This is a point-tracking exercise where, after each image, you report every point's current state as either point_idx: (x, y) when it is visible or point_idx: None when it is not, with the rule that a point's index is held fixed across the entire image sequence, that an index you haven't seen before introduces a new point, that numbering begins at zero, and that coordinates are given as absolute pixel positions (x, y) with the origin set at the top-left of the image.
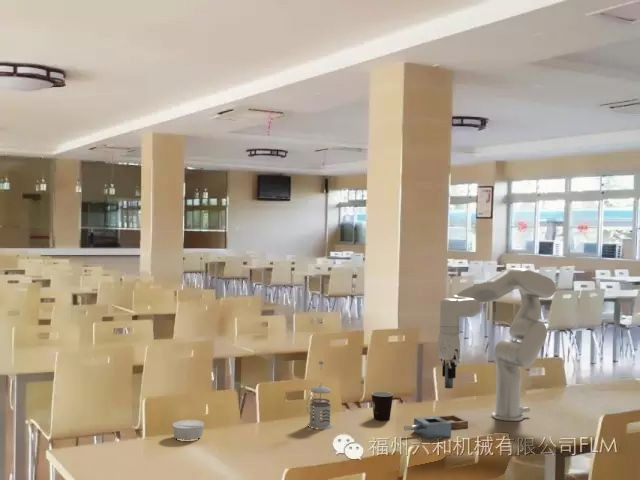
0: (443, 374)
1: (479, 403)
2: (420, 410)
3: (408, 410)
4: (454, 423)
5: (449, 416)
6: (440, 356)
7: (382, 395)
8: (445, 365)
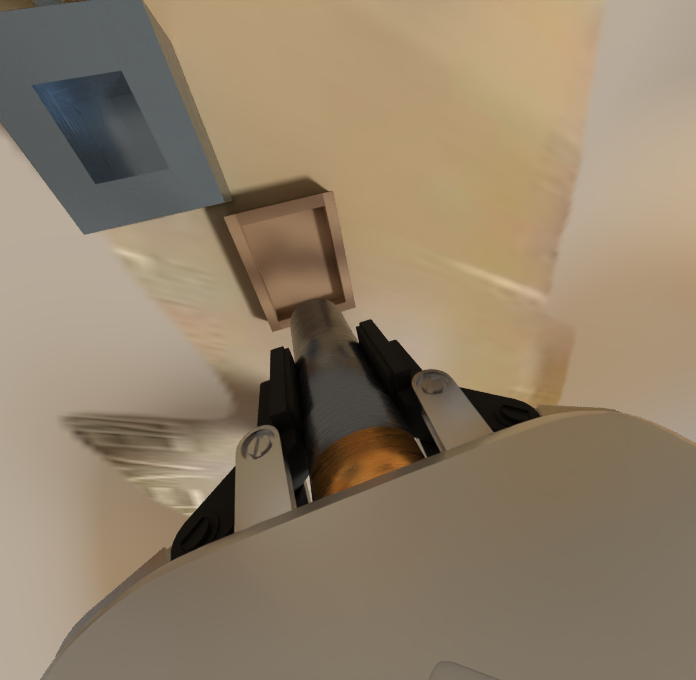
0: (361, 331)
1: (481, 391)
2: (483, 222)
3: (499, 172)
4: (251, 280)
5: (342, 287)
6: (503, 473)
7: None
8: (351, 408)
